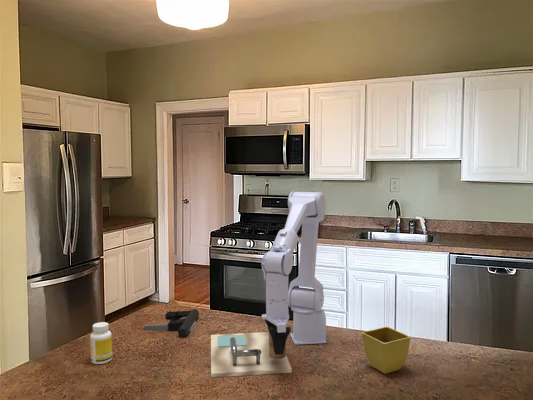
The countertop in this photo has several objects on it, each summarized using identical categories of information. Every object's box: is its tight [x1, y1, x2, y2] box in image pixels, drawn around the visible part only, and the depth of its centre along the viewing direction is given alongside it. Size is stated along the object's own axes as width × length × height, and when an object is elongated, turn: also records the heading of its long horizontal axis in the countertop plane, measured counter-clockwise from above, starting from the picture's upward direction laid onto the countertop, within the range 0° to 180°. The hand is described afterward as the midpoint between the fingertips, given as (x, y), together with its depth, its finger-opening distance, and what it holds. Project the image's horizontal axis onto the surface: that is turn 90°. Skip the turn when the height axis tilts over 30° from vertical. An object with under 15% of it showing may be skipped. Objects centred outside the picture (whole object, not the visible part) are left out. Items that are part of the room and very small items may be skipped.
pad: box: [218, 335, 247, 348], centre depth 131 cm, size 8×8×1 cm
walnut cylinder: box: [268, 331, 287, 359], centre depth 117 cm, size 4×4×6 cm
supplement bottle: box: [89, 321, 113, 365], centre depth 121 cm, size 5×5×10 cm
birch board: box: [210, 331, 293, 378], centre depth 125 cm, size 20×26×1 cm
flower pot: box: [361, 326, 411, 375], centre depth 115 cm, size 9×9×9 cm
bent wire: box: [230, 337, 261, 366], centre depth 120 cm, size 8×11×4 cm
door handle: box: [143, 308, 200, 338], centre depth 147 cm, size 3×20×16 cm
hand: (277, 349), depth 117 cm, fingers closed on walnut cylinder, 4 cm apart
